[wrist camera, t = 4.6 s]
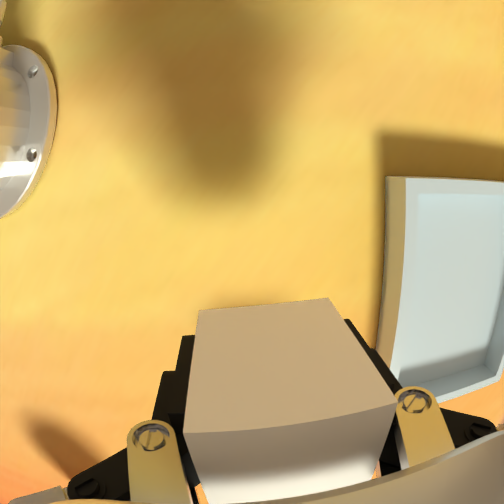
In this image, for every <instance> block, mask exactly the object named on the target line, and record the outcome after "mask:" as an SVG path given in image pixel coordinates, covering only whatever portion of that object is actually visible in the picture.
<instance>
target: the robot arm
mask: <svg viewBox="0 0 504 504" xmlns="http://www.w3.org/2000/svg"><path fill="white" fill-rule="evenodd" d="M6 6H7V3H6V1H5V0H0V26H1V25H2V23H3V18H4V14H5V10H6ZM2 41H3V39H2V37H1V36H0V219H1V218H3V217H5V216H7V215H10V214H11V213H12V212H14V211H15V210H16V209H18V208H19V207H20V206H21V205H22V204H23V203H24V201H25V200H26V199H27V198H28V197H29V196H30V194H31V193H32V191H33V189H34V188H35V186H36V184H37V183H38V181H39V179H40V177H41V175H42V172H43V170H44V168H45V166H46V163H47V160H48V157H49V153H50V150H51V147H52V143H53V138H54V132H55V127H56V115H57V98H56V88H55V84H54V79H53V75H52V73H51V71H50V69H49V67H48V65H47V63H46V62H45V60H44V59H43V58H42V57H41V56H40V55H39V54H38V53H36V52H34V51H33V50H31V49H28V48H26V47H23V46H21V45H7V46H3V47H2ZM343 320H344V321H345V323H346V324H347V326H348V327H349V328H350V330H351V331H352V333H353V334H354V336H355V337H356V339H357V340H358V342H359V343H360V345H361V346H362V348H363V349H364V351H365V352H366V354H367V355H368V357H369V358H370V360H371V361H372V363H373V364H374V366H375V367H376V369H377V370H378V372H379V373H380V375H381V376H382V378H383V379H384V381H385V382H386V384H387V385H388V387H389V388H390V390H391V391H392V393H393V395H394V396H395V398H396V399H397V401H398V404H397V408H396V411H395V414H394V417H393V421H392V424H391V427H390V430H389V433H388V436H387V439H386V441H385V444H384V447H383V450H382V452H381V455H380V458H379V460H378V463H377V465H376V468H375V469H376V477H377V478H376V479H372V480H369V481H365V482H361V483H358V484H354V485H350V486H346V487H342V488H337V489H333V490H328V491H324V492H319V493H314V494H308V495H302V496H296V497H290V498H283V499H275V500H267V501H257V502H246V503H231V504H504V424H498V426H497V427H495V425H494V424H493V423H492V422H490V421H489V420H487V419H484V418H481V417H477V416H472V415H468V414H464V413H459V412H455V411H451V410H447V409H443V408H439V405H438V403H437V401H436V398H435V397H434V395H433V394H432V393H431V392H430V391H429V390H427V389H425V388H422V387H417V386H409V387H405V388H403V387H402V386H401V385H400V383H399V382H398V380H397V379H396V378H395V376H394V375H393V373H392V372H391V370H390V369H389V368H388V366H387V365H386V363H385V362H384V361H383V359H382V358H381V356H380V355H379V354H378V352H377V351H376V350H375V349H373V348H371V349H370V348H369V346H368V345H367V343H366V342H365V341H364V339H363V338H362V336H361V335H360V333H359V332H358V331H357V329H356V328H355V327H354V325H353V324H352V322H351V321H350V320H349V319H343ZM194 341H195V335H187V336H182V340H181V345H180V350H179V355H178V360H177V365H176V370H175V371H164V372H163V374H162V377H161V382H160V386H159V390H158V394H157V398H156V403H155V407H154V411H153V416H152V420H148V421H144V422H141V423H139V424H137V425H135V426H134V427H133V428H132V429H131V430H130V432H129V433H128V436H127V448H125V449H123V450H121V451H120V452H118V453H116V454H114V455H113V456H111V457H109V458H107V459H105V460H104V461H102V462H100V463H98V464H96V465H94V466H93V467H91V468H89V469H87V470H85V471H83V472H81V473H79V474H78V475H76V476H75V477H73V478H72V480H71V481H70V482H69V484H68V487H66V488H62V487H61V486H58V487H54V488H51V489H48V490H45V491H41V492H38V493H34V494H31V495H27V496H23V497H19V498H16V499H13V500H11V501H10V502H9V503H8V504H200V501H199V497H198V493H197V490H196V487H195V486H197V485H198V484H199V483H201V482H200V480H199V477H198V475H197V472H196V469H195V466H194V464H193V461H192V458H191V455H190V452H189V450H188V447H187V444H186V441H185V438H184V435H183V427H184V418H185V410H186V401H187V393H188V385H189V378H190V370H191V362H192V355H193V348H194Z"/></svg>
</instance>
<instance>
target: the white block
mask: <svg viewBox="0 0 504 504" xmlns="http://www.w3.org/2000/svg"><path fill="white" fill-rule="evenodd" d="M397 404H398V401H397V399H396V398H395V396H394V395H393V393H392V391H391V390H390V388H389V387H388V385H387V384H386V382H385V381H384V379H383V378H382V376H381V375H380V373H379V372H378V370H377V369H376V367H375V366H374V364H373V363H372V361H371V360H370V358H369V357H368V355H367V354H366V352H365V351H364V349H363V348H362V346H361V345H360V343H359V342H358V340H357V339H356V337H355V336H354V334H353V333H352V331H351V330H350V328H349V327H348V326H347V324H346V323H345V321H344V320H343V318H342V317H341V315H340V314H339V312H338V311H337V310H336V308H335V307H334V305H333V304H332V302H331V301H330V300H329V298H322V299H313V300H304V301H295V302H286V303H276V304H266V305H256V306H245V307H234V308H221V309H209V310H199V314H198V320H197V327H196V334H195V341H194V348H193V355H192V362H191V370H190V378H189V385H188V393H187V401H186V410H185V418H184V427H183V435H184V438H185V441H186V444H187V447H188V450H189V452H190V455H191V458H192V461H193V464H194V466H195V469H196V472H197V475H198V477H199V480H200V482H201V485H202V488H203V490H204V493H205V495H206V498H207V500H208V503H209V504H231V503H246V502H257V501H267V500H275V499H283V498H290V497H296V496H302V495H308V494H314V493H319V492H324V491H328V490H333V489H337V488H342V487H346V486H350V485H354V484H358V483H361V482H365V481H369V480H371V478H372V475H373V473H374V470H375V468H376V465H377V463H378V460H379V458H380V455H381V452H382V450H383V447H384V444H385V441H386V439H387V436H388V433H389V430H390V427H391V424H392V421H393V417H394V414H395V411H396V408H397Z"/></svg>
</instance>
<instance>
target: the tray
mask: <svg viewBox="0 0 504 504" xmlns="http://www.w3.org/2000/svg"><path fill="white" fill-rule="evenodd" d="M376 351H377V352H378V354H379V355H380V356H381V358H382V359H383V361H384V362H385V363H386V365H387V366H388V368H389V369H390V370H391V372H392V373H393V375H394V376H395V378H396V379H397V380H398V382H399V383H400V385H401V386H402V387H403V388H405V387H409V386H417V387H422V388H425V389H427V390H429V391H430V392H431V393H432V394H433V395H434V397H435V398H436V401H437V403H441V402H444V401H447V400H450V399H453V398H456V397H459V396H462V395H464V394H467V393H470V392H472V391H475V390H478V389H480V388H483V387H485V386H488V385H490V384H493V383H495V382H497V381H499V380H500V377H501V374H502V372H503V369H504V181H496V180H483V179H467V178H448V177H420V176H385V249H384V269H383V284H382V296H381V307H380V317H379V326H378V335H377V343H376Z"/></svg>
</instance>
